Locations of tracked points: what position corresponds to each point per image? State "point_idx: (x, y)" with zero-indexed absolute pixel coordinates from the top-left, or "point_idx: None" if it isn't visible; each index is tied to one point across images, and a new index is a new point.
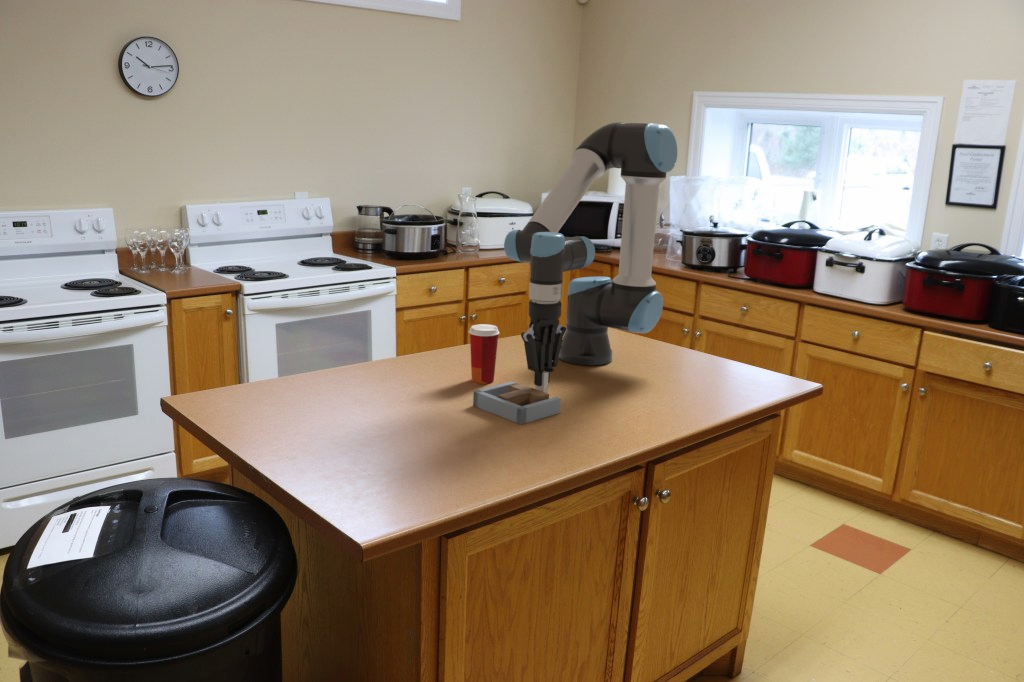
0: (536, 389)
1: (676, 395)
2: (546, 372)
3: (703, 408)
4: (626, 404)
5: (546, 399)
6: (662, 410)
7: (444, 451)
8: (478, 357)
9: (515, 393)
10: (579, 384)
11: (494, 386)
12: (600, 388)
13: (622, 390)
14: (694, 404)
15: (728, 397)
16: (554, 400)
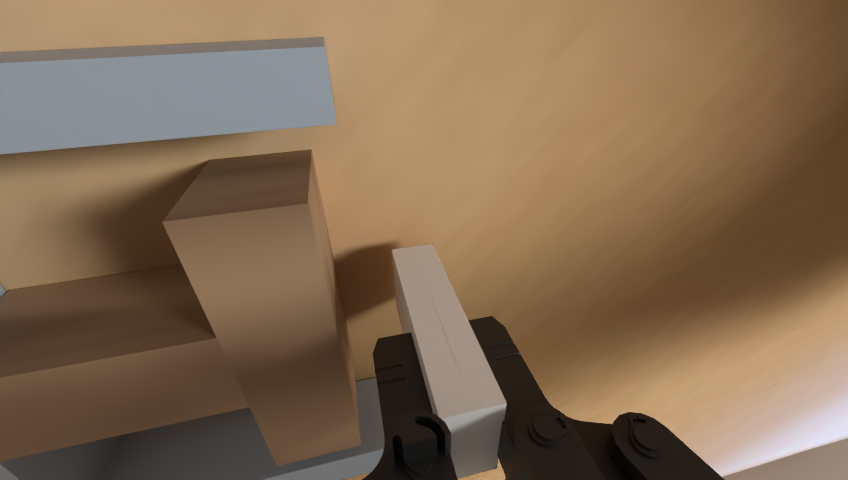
0: (402, 292)
1: (791, 373)
2: (475, 471)
3: (713, 449)
4: (636, 390)
5: (304, 469)
6: None
7: None
8: None
9: (118, 400)
10: (801, 126)
11: None
12: (774, 228)
13: (781, 284)
14: (733, 429)
15: (819, 413)
16: (339, 477)
